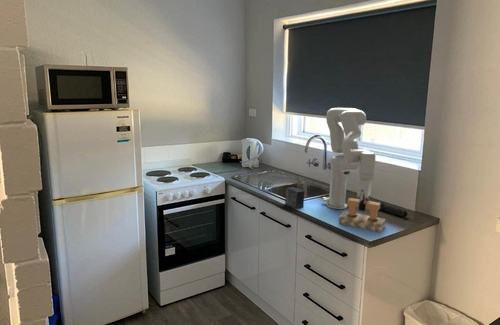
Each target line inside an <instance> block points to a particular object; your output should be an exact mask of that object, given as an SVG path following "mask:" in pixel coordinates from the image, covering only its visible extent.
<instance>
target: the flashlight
mask: <svg viewBox="0 0 500 325" xmlns="http://www.w3.org/2000/svg"><path fill="white" fill-rule="evenodd" d="M373 202H378V203H380V209H379V210H378V211H384V212H388V213H391V214H393V215H395V216H399V217H401V218H404V219H405V218H406V217H407V216H408V211H407V210H406V209H402V208H398V207H395V206H393V205H390V204H389V205H388V204H386V203H385V202H383V201H379V200H374V201H373Z"/></svg>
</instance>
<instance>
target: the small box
mask: <svg viewBox="0 0 500 325" xmlns="http://www.w3.org/2000/svg"><path fill="white" fill-rule="evenodd" d="M284 202H285V205H286V206H288V207H291V208H293V209H301V207H302V208H304V204H305V190H302V189H300V188H297V187H294V186H291V187H286V188H285V201H284Z"/></svg>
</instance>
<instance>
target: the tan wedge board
mask: <svg viewBox="0 0 500 325" xmlns="http://www.w3.org/2000/svg"><path fill="white" fill-rule="evenodd" d="M359 201H360V198H355V197H354V198H353V197H349V198H348V199H347V201H346V202H347V203H346V204H347V207H348V212H349V215H355V214H357V210H358V209H357V208H359ZM365 204H366V205H365V210H369V216H370V217H369V218H370V219H376V218H378V211H380V210H379V209H380V203H378V202H374V201H372V200H368V201H366V200H365Z"/></svg>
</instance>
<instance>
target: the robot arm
mask: <svg viewBox="0 0 500 325" xmlns="http://www.w3.org/2000/svg"><path fill="white" fill-rule="evenodd" d="M326 112H327V113H326V117H325V118H326V120H325V121H326V124H327V127H328V130H329V137H330V148H331V151H332V153H334V154H339V155H334V156H332V157H331V158H330V160H329V165H330V181H329V182H330V183H329V194H328V195H329V196H328V197H327V196H326V197H324V196H323V197H322V201H323V202H326V203H325V206H326V207H328V208H330V209H334V210H346V209H347V207H348V205H347V203H346V196H347V195H346V193H347V192H346V191H347V181H348V178H347V176H346V174H345V173H344V172H357V171H358V180H359V182H358V185H357V186H358V187H357V188H358V189H357V194H356V197H357V198H359V199H360V201H359V207H358V210H359V211H361V212H365V211H366V209H365V205H366V204H365V200H366V201H369V196H370V195H371V190H372V180H374V177H375V169H376V168H375V166H376V165H375V164H376V158H377V157H376V153H374V152H371V151H370V150H368V149H359V144H358V141H357V140H356V139H358V138H360V136H362V131H361V128H360V126H364V125H365V124H366V122H367V115H366V113H365V112H364V111H363V110H360V109H357V108H353V107H333V108H330V109H329V110H327V111H326ZM340 123H341V124H340ZM340 154H342V155H340Z"/></svg>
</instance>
